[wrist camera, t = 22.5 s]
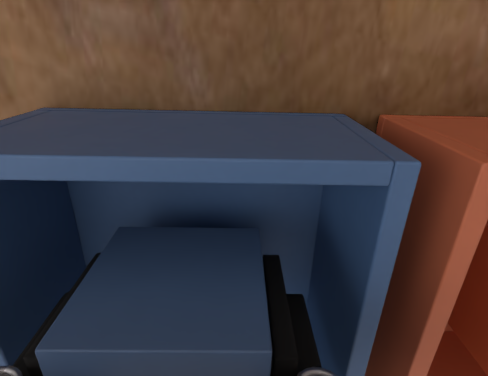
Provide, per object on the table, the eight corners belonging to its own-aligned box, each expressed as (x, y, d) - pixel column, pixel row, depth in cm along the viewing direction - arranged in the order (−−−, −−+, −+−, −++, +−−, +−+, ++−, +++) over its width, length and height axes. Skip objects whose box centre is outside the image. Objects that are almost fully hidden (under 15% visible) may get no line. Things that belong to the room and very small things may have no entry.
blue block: (259, 227, 10) (272, 352, 6) (254, 329, 12) (262, 478, 8) (118, 226, 10) (32, 350, 6) (135, 328, 12) (79, 478, 8)
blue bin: (344, 113, 12) (424, 162, 7) (311, 330, 16) (343, 456, 11) (42, 107, 11) (-113, 152, 6) (94, 329, 16) (28, 457, 11)
